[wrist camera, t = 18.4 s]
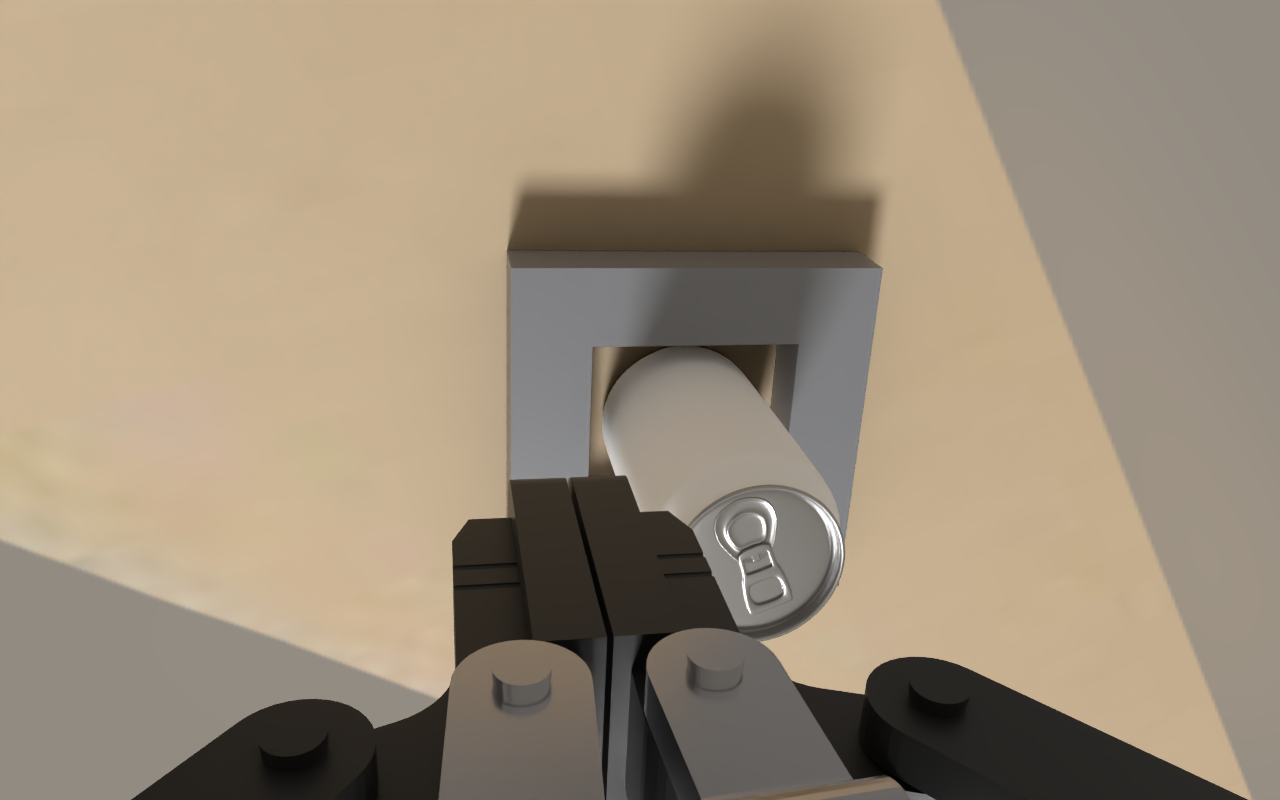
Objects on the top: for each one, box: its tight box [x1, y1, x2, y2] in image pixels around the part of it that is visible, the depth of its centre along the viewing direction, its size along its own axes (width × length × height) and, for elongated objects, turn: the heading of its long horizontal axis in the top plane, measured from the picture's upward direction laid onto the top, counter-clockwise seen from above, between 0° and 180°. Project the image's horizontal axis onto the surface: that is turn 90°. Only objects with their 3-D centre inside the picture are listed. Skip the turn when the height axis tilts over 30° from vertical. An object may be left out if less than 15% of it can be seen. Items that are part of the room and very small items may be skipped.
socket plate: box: [507, 251, 883, 586], centre depth 42 cm, size 14×14×2 cm
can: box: [602, 346, 845, 642], centre depth 38 cm, size 6×6×12 cm
